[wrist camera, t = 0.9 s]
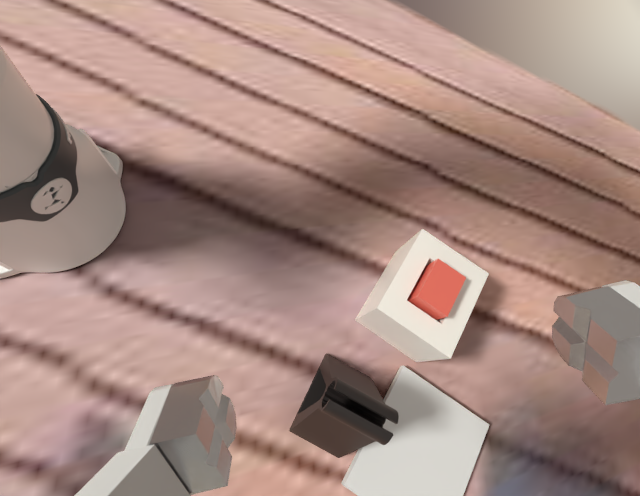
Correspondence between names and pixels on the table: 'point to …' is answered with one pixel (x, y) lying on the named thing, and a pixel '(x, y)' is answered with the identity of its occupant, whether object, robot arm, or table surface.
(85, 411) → the table surface
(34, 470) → the table surface
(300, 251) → the table surface
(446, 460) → the grey mat
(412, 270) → the box
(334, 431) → the phone stand
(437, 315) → the button
